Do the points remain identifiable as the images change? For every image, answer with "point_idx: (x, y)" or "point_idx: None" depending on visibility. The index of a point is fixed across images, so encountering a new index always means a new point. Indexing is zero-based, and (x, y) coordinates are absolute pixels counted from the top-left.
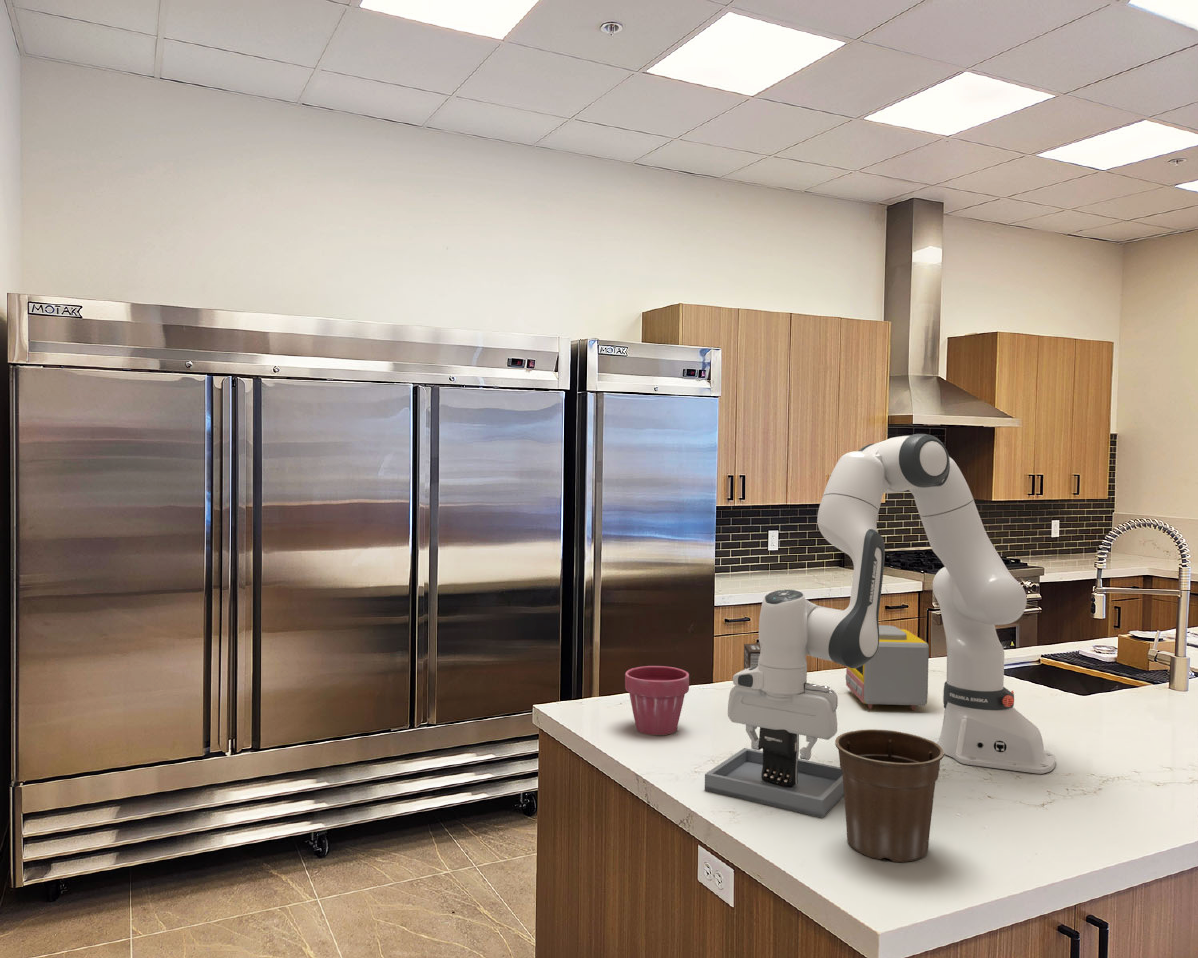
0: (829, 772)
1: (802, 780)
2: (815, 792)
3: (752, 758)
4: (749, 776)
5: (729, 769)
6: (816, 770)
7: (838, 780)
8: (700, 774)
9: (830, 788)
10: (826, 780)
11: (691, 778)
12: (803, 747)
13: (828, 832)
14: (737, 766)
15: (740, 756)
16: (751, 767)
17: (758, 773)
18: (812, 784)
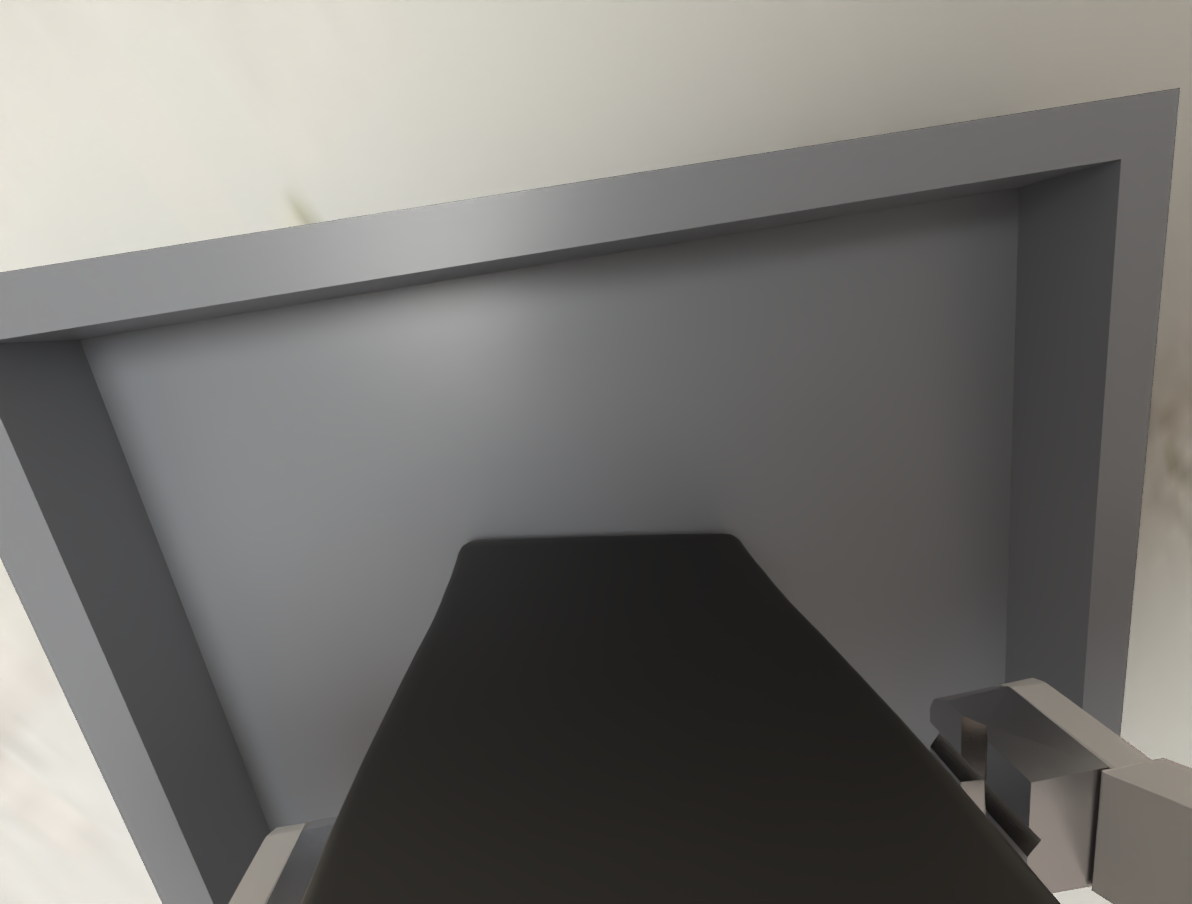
0: (905, 201)
1: (717, 419)
2: (889, 562)
3: (110, 329)
4: (367, 634)
5: (196, 708)
6: (776, 220)
7: (1109, 474)
8: (49, 760)
9: (1097, 670)
10: (868, 276)
11: (76, 851)
12: (1037, 797)
13: (1084, 887)
14: (152, 547)
15: (66, 515)
16: (235, 456)
17: (372, 532)
18: (814, 441)
